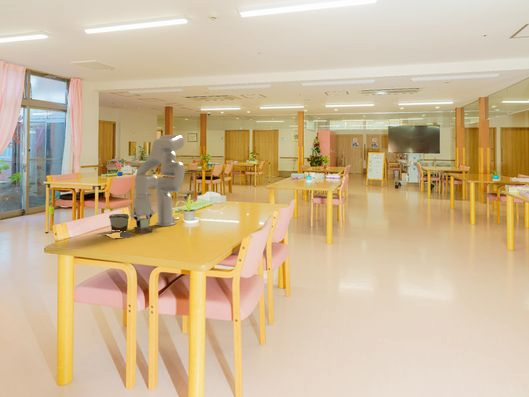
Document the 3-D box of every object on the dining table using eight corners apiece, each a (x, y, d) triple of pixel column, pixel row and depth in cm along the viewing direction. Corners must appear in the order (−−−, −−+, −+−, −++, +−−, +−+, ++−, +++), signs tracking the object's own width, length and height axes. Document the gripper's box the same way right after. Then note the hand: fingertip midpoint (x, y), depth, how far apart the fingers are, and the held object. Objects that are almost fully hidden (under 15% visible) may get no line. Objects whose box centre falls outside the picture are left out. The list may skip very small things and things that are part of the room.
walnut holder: (146, 230, 242) (146, 225, 242) (152, 232, 236) (152, 227, 236) (134, 231, 237) (134, 227, 237) (140, 233, 231) (139, 228, 231)
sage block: (145, 230, 240) (144, 218, 239) (149, 232, 236) (148, 219, 236) (137, 232, 237) (137, 218, 236) (141, 233, 233) (140, 220, 232)
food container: (133, 229, 244) (132, 213, 242) (128, 231, 238) (128, 215, 236) (114, 229, 245) (113, 213, 244) (109, 231, 239) (108, 215, 238)
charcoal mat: (123, 232, 236) (123, 231, 236) (134, 236, 225) (134, 235, 225) (103, 234, 228) (103, 234, 228) (114, 239, 217) (114, 238, 217)
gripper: (152, 194, 243) (153, 223, 245) (125, 197, 231) (126, 227, 233) (158, 195, 237) (159, 225, 239) (131, 198, 226) (132, 229, 228)
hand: (143, 226), depth 236 cm, fingers closed on sage block, 5 cm apart
